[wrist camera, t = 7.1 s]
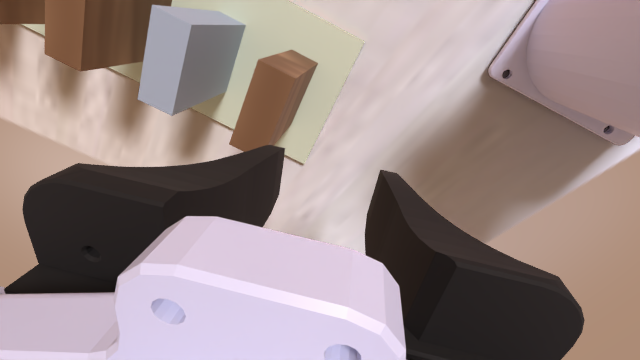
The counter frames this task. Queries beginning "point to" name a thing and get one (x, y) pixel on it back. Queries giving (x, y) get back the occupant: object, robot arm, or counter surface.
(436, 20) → the counter surface
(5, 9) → the tile
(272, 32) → the mat
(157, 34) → the tile
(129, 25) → the tile
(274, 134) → the tile
